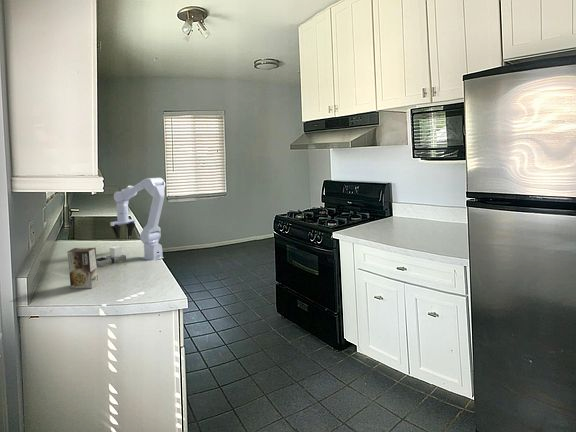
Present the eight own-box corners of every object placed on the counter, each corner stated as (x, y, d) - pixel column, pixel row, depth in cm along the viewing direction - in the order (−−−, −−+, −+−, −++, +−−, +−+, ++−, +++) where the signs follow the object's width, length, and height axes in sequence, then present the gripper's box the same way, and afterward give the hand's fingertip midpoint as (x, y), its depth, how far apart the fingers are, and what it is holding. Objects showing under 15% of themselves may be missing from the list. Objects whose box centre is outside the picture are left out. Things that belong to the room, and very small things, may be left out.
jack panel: (127, 261, 205) (127, 255, 204) (99, 268, 191) (99, 262, 191) (117, 258, 209) (117, 253, 209) (88, 265, 196) (88, 259, 195)
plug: (121, 260, 204) (121, 247, 203) (115, 261, 201) (114, 248, 200) (116, 258, 207) (115, 245, 206) (109, 260, 203) (108, 247, 202)
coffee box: (98, 283, 168) (96, 247, 166) (91, 288, 162) (89, 251, 159) (77, 283, 168) (74, 247, 165) (69, 288, 161) (66, 251, 159)
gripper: (129, 210, 224) (130, 233, 226) (106, 213, 212) (107, 238, 214) (137, 211, 220) (138, 235, 222) (114, 214, 208) (115, 239, 210)
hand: (123, 236), depth 218 cm, fingers open, 7 cm apart
